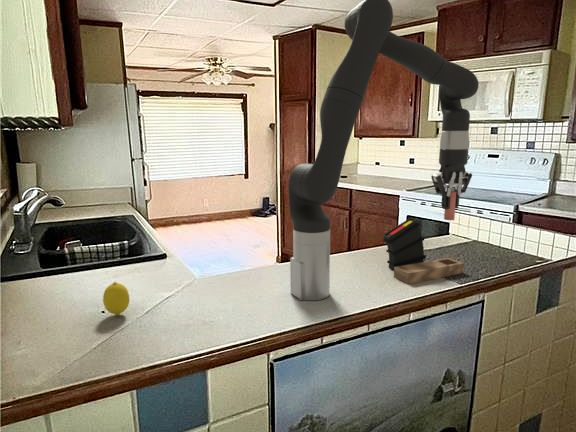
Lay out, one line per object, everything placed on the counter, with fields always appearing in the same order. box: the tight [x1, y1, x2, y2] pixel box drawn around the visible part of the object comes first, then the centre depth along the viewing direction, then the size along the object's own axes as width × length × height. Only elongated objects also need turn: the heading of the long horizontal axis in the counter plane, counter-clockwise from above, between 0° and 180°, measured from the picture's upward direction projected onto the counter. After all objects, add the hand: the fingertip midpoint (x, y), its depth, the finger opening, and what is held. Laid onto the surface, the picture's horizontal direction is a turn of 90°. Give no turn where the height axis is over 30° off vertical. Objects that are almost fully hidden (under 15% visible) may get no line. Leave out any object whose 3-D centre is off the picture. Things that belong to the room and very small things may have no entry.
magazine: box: [382, 217, 427, 271], centre depth 128 cm, size 4×13×15 cm, turn 111°
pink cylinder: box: [443, 188, 456, 221], centre depth 121 cm, size 3×3×9 cm
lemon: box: [102, 281, 130, 316], centre depth 96 cm, size 6×6×8 cm
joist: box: [393, 257, 465, 285], centre depth 122 cm, size 20×6×3 cm, turn 115°
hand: (449, 208), depth 121 cm, fingers closed on pink cylinder, 2 cm apart
